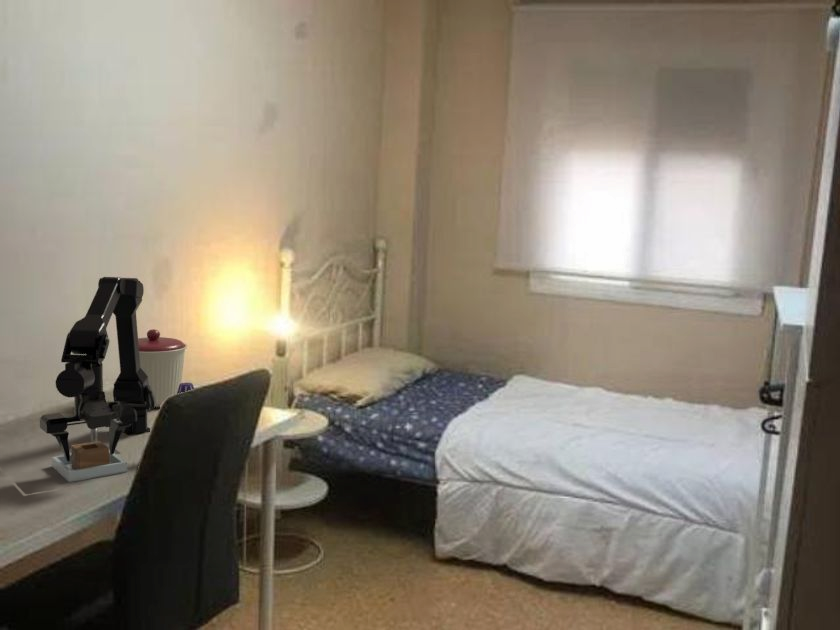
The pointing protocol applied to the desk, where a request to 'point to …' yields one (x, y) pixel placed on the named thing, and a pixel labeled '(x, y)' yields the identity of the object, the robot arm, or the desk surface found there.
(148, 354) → the canister
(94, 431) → the grey peg stand
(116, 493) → the desk surface
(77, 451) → the wooden block with hole
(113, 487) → the desk surface
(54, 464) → the tray
